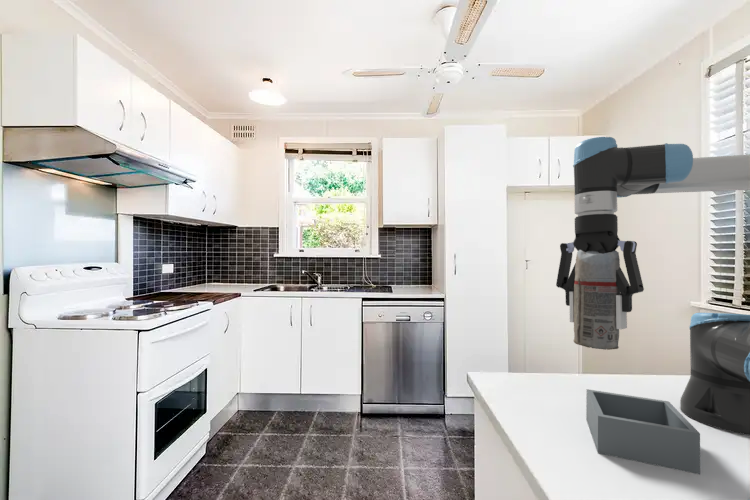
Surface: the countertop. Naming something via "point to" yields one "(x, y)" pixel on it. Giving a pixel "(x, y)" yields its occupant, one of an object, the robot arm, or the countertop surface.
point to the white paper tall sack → (596, 299)
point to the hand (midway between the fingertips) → (597, 324)
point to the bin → (642, 430)
